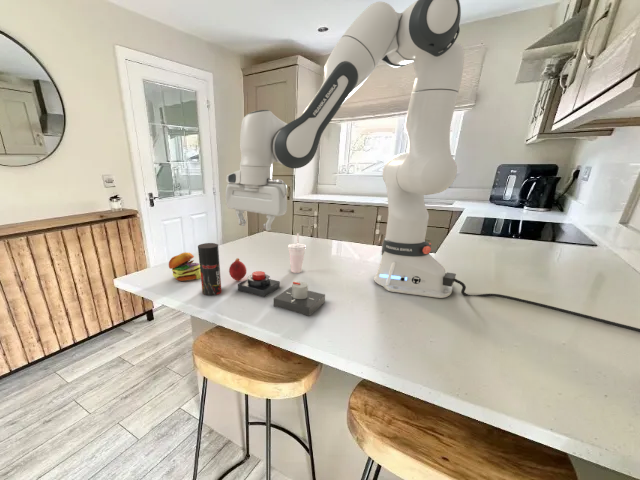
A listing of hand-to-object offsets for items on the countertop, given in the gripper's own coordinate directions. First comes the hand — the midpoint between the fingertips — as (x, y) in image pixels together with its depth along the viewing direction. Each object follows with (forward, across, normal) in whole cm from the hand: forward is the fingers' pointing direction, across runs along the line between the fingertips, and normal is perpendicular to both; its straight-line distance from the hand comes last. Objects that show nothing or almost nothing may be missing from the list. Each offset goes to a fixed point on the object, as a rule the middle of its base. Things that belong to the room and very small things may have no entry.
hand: (254, 227), depth 90 cm
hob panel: (+19, -18, 0) cm, 26 cm away
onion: (+20, +9, -3) cm, 22 cm away
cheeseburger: (+21, +26, +6) cm, 34 cm away
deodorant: (+20, +9, +9) cm, 24 cm away
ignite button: (+16, -1, -1) cm, 16 cm away
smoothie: (+19, -2, -22) cm, 30 cm away
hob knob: (+16, -18, 0) cm, 24 cm away
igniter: (+20, -1, -2) cm, 20 cm away
